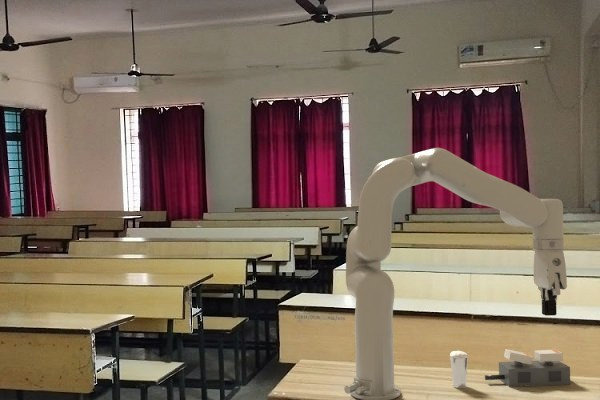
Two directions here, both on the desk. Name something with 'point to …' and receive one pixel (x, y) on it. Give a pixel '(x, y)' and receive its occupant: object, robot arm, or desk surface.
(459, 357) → the milkshake
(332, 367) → the desk surface
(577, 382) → the desk surface
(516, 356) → the rocker
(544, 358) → the rocker
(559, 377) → the rocker switch panel
